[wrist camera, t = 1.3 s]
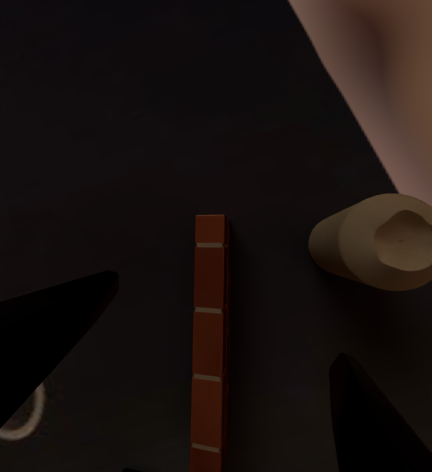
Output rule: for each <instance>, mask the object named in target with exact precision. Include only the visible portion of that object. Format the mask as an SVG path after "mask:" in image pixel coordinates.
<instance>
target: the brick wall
mask: <svg viewBox="0 0 432 472" xmlns="http://www.w3.org/2000/svg"><path fill="white" fill-rule="evenodd" d="M195 244H197V246H195V269H194V308H195V310H194V315H193V360H192V374H193V376H192V401H191V446H190V472H223V469H224V463H225V457H226V451H227V445H228V439H229V359H230V328H229V326H230V275H231V274H229V272H230V271H231V221H230V220H229V219H228V218H227V217H226V216H225V215H196V226H195Z"/></svg>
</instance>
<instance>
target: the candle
mask: <svg viewBox="0 0 432 472" xmlns="http://www.w3.org/2000/svg"><path fill="white" fill-rule="evenodd" d="M308 247H309V252H310V255H311V257H312V259H313V260H314V261H315V263H316V264H317V265H318V266H319V267H321V268H322V269H324V270H325V271H328V272H330V273H333V274H336V275H339V276H342V277H345V278H348V279H351V280H354V281H357V282H360V283H364V284H367V285H370V286H373V287H376V288H379V289H383V290H389V291H404V290H411V289H414V288H418V287H420V286H422V285H425V284H426V283H428V282H430V281H431V280H432V207H431V206H430V205H428V204H426V203H425V202H423V201H421V200H419V199H417V198H414V197H411V196H408V195H403V194H382V195H377V196H374V197H371V198H368V199H366V200H364V201H362V202H360V203H358V204H355V205H353V206H351V207H349V208H347V209H345V210H343V211H341V212H339V213H337V214H335V215H332V216H330V217H328V218H326V219H324V220H323V221H321V222H320V223H318V224H317V225H316V226H315V228H314V229H313V230H312V232H311V234H310V237H309V242H308Z"/></svg>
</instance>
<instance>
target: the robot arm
mask: <svg viewBox="0 0 432 472" xmlns="http://www.w3.org/2000/svg"><path fill="white" fill-rule="evenodd" d="M118 289H119V275H118V273H116V272H113V271H110V270H107V271H104V272H100V273H97V274H94V275H90V276H87V277H83V278H80V279H77V280H73V281H70V282H66V283H63V284H60V285H56V286H53V287H50V288H46V289H43V290H39V291H36V292H33V293H29V294H26V295H22V296H19V297H16V298H12V299H9V300H5V301H2V302H0V428H1V427H2V426H3V425H4V424H5V423H6V422H7V420H8V419H9V418H10V417H11V416H12V415H13V414H14V413H15V412H16V410H17V409H18V408H19V407H20V406H21V405H22V404H23V403H24V402H25V400H26V399H27V398H28V397H29V396H30V395H31V394H32V393H33V392H34V390H35V389H36V388H37V387H38V386H39V385H40V384H41V383H42V382H43V380H44V379H45V378H46V377H47V376H48V375H49V374H50V373H51V372H52V370H53V369H54V368H55V367H56V366H57V365H58V364H59V363H60V362H61V360H62V359H63V358H64V357H65V356H66V355H67V354H68V353H69V352H70V350H71V349H72V348H73V347H74V346H75V345H76V344H77V343H78V342H79V340H80V339H81V338H82V337H83V336H84V335H85V334H86V333H87V331H88V330H89V329H90V328H91V327H92V326H93V325H94V323H95V322H96V321H97V320H98V318H99V317H100V315H101V314H102V313H103V311H104V310H105V309H106V307H107V306H108V305H109V303H110V302H111V301H112V299H113V298H114V297H115V295H116V294H117V292H118ZM329 378H330V398H331V416H332V426H333V433H334V440H335V446H336V453H337V460H338V466H339V472H432V453H431V451H430V450H429V449H428V448H427V446H426V445H425V444H424V443H423V442H422V440H421V439H420V438H419V437H418V435H417V434H416V433H415V432H414V430H413V429H412V428H411V427H410V426H409V424H408V423H407V422H406V421H405V419H404V418H403V417H402V416H401V414H400V413H399V412H398V411H397V410H396V408H395V407H394V406H393V405H392V403H391V402H390V401H389V400H388V398H387V397H386V396H385V395H384V394H383V392H382V391H381V390H380V389H379V387H378V386H377V385H376V384H375V382H374V381H373V380H372V379H371V377H370V376H369V375H368V374H367V373H366V371H365V370H364V369H363V368H362V366H361V365H360V364H359V363H358V361H357V360H356V359H355V358H354V357H352V356H349V355H347V354H344V353H341V354H339V355H338V357H337V358H336V359H335V361H334V362H333V364H332V365H331V367H330V370H329ZM122 472H140V471H136V470H132V469H128V468H125V469H123V471H122Z"/></svg>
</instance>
